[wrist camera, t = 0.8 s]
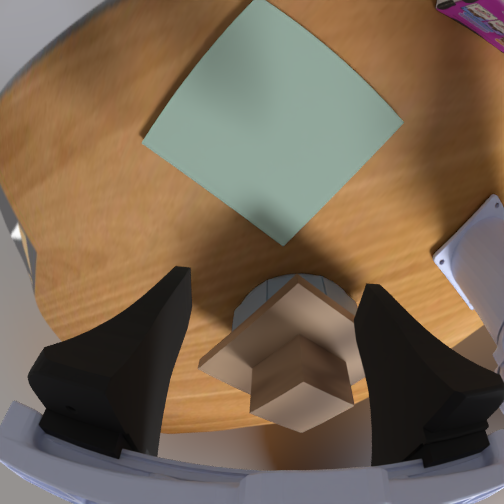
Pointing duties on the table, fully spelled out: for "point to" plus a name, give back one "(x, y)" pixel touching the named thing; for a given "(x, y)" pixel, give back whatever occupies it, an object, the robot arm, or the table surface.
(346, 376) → the lid
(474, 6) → the candy bar box
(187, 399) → the table surface
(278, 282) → the bowl
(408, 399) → the robot arm
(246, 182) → the mat
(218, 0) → the table surface
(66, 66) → the table surface
